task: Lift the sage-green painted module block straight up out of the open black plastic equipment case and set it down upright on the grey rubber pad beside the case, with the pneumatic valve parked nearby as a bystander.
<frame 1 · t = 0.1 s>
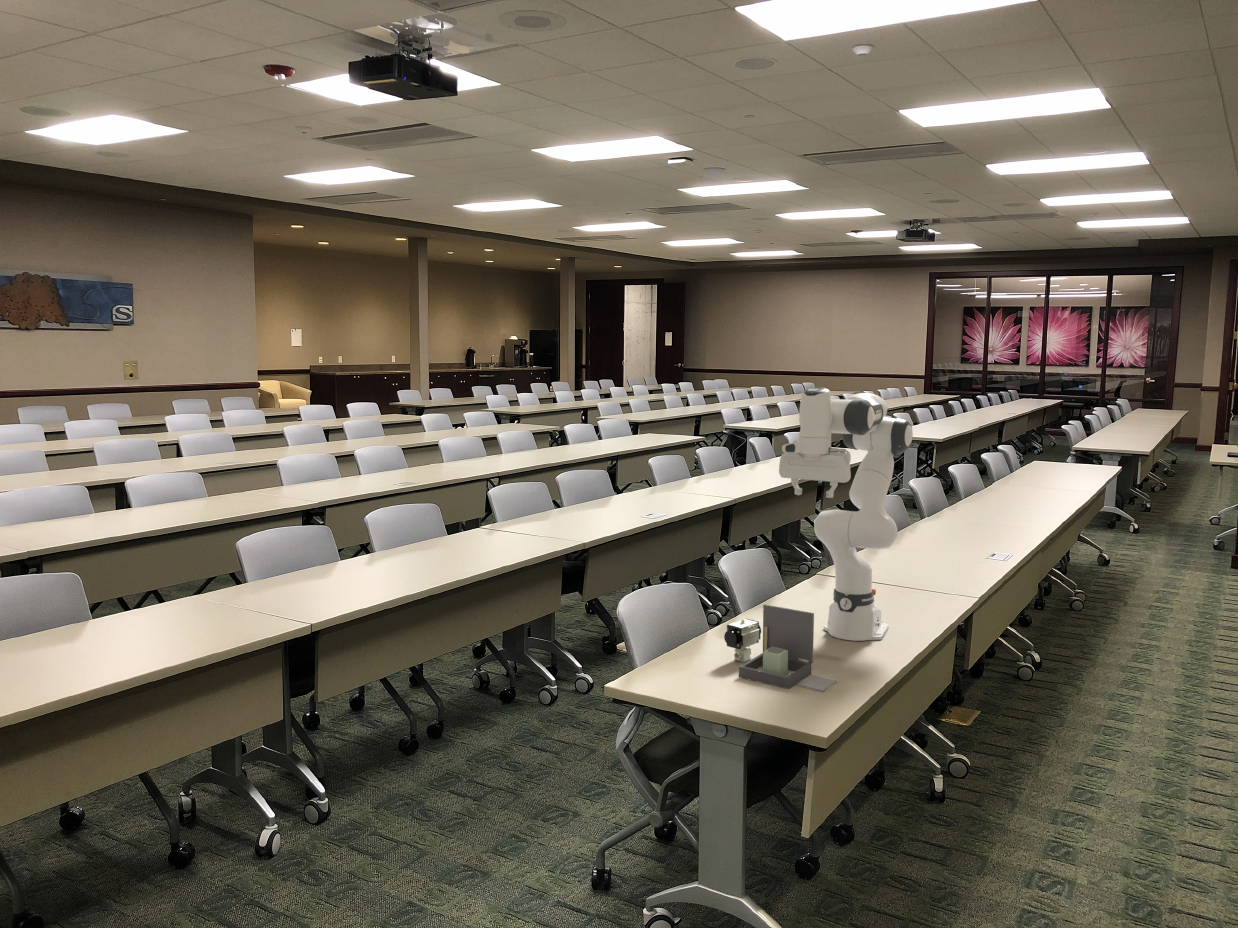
hand: (813, 496, 251), 48 cm above the table, fingers open, 8 cm apart
module: (775, 675, 245), resting in case
case: (775, 675, 245), on the table
pneumatic valve: (743, 660, 258), on the table
pad: (817, 683, 239), on the table
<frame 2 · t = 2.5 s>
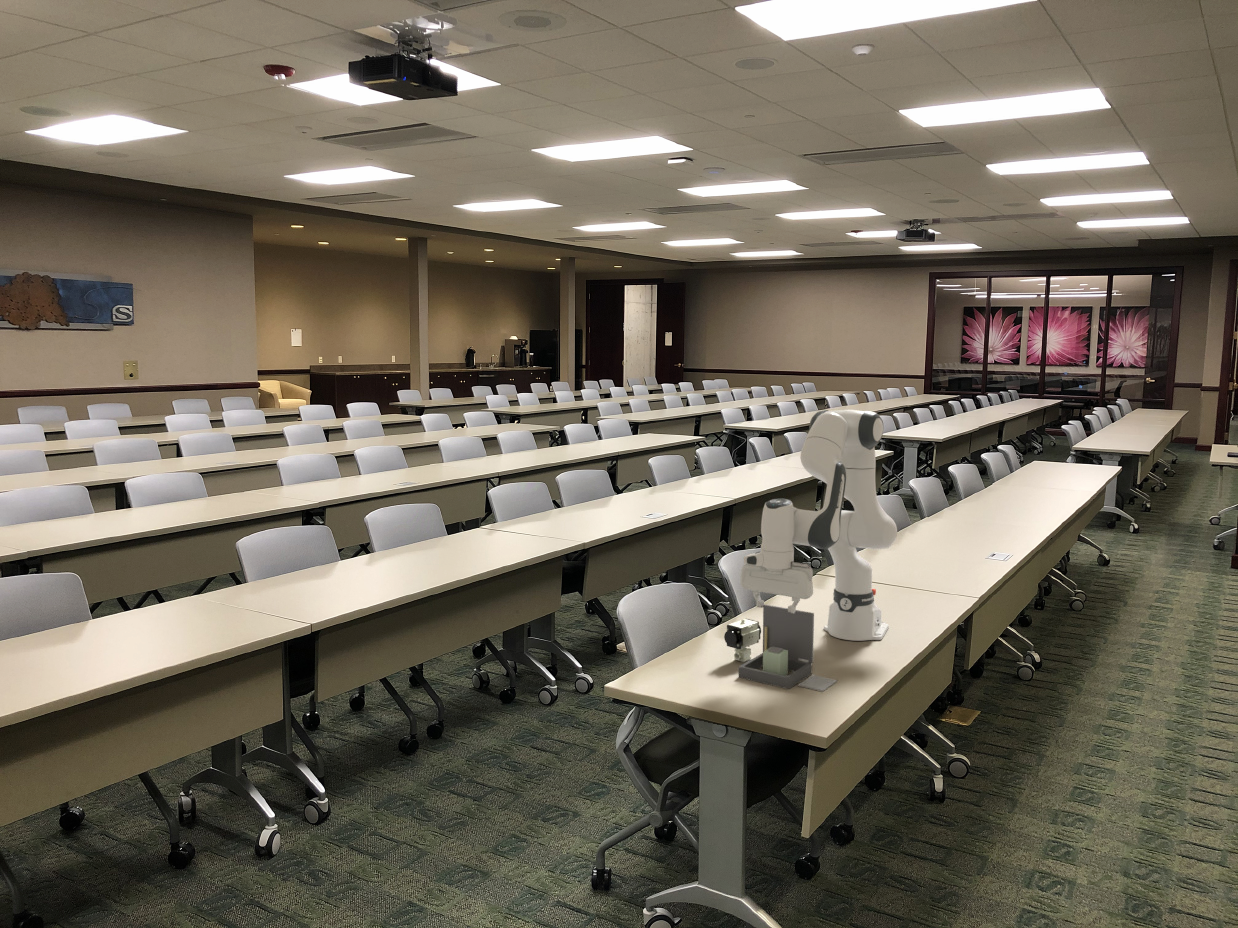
hand: (775, 609, 243), 19 cm above the table, fingers open, 8 cm apart
nothing on the table moved.
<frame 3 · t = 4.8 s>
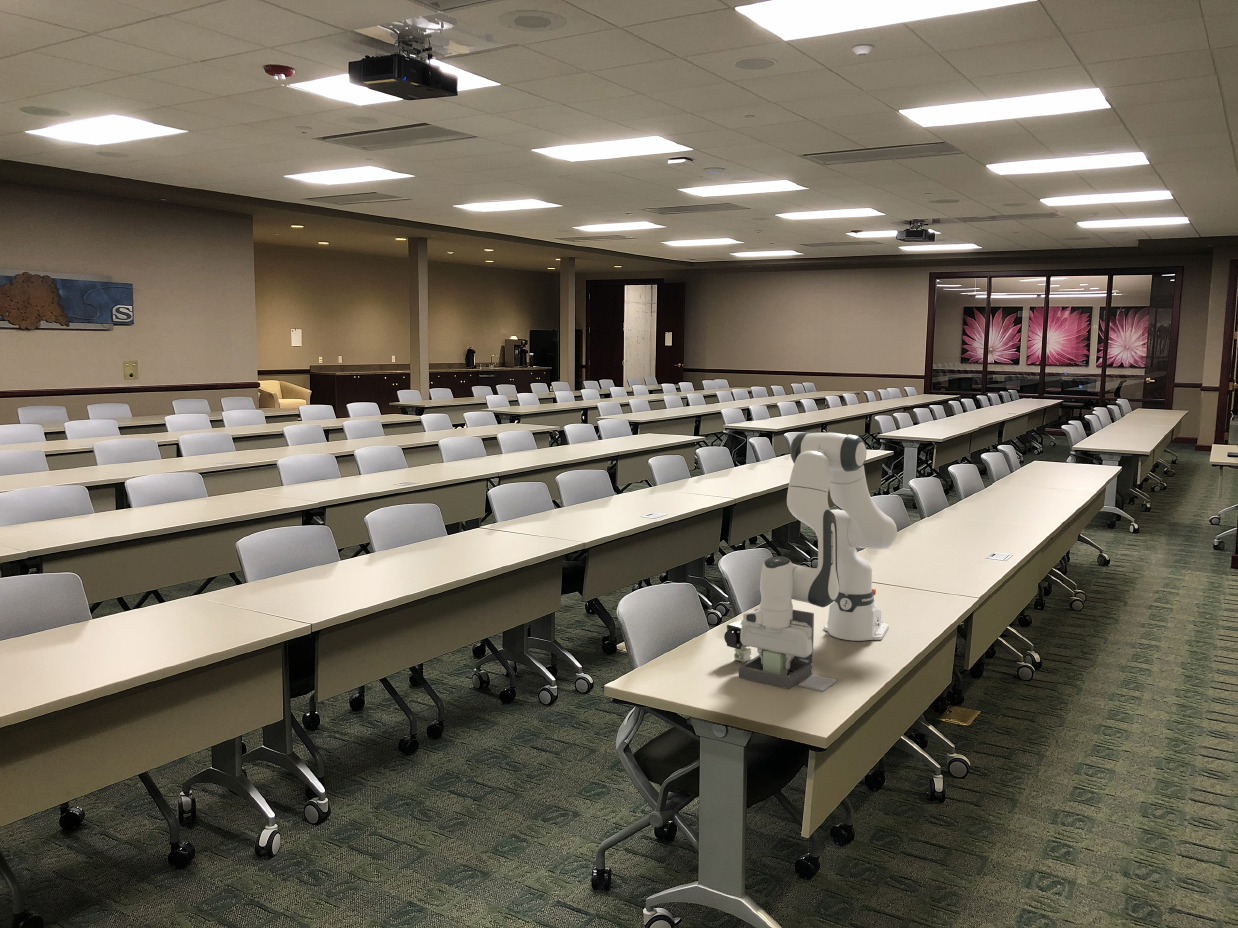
hand: (775, 666, 245), 3 cm above the table, fingers closed on module, 5 cm apart
module: (775, 675, 245), resting in case, touching gripper
everything else where it was.
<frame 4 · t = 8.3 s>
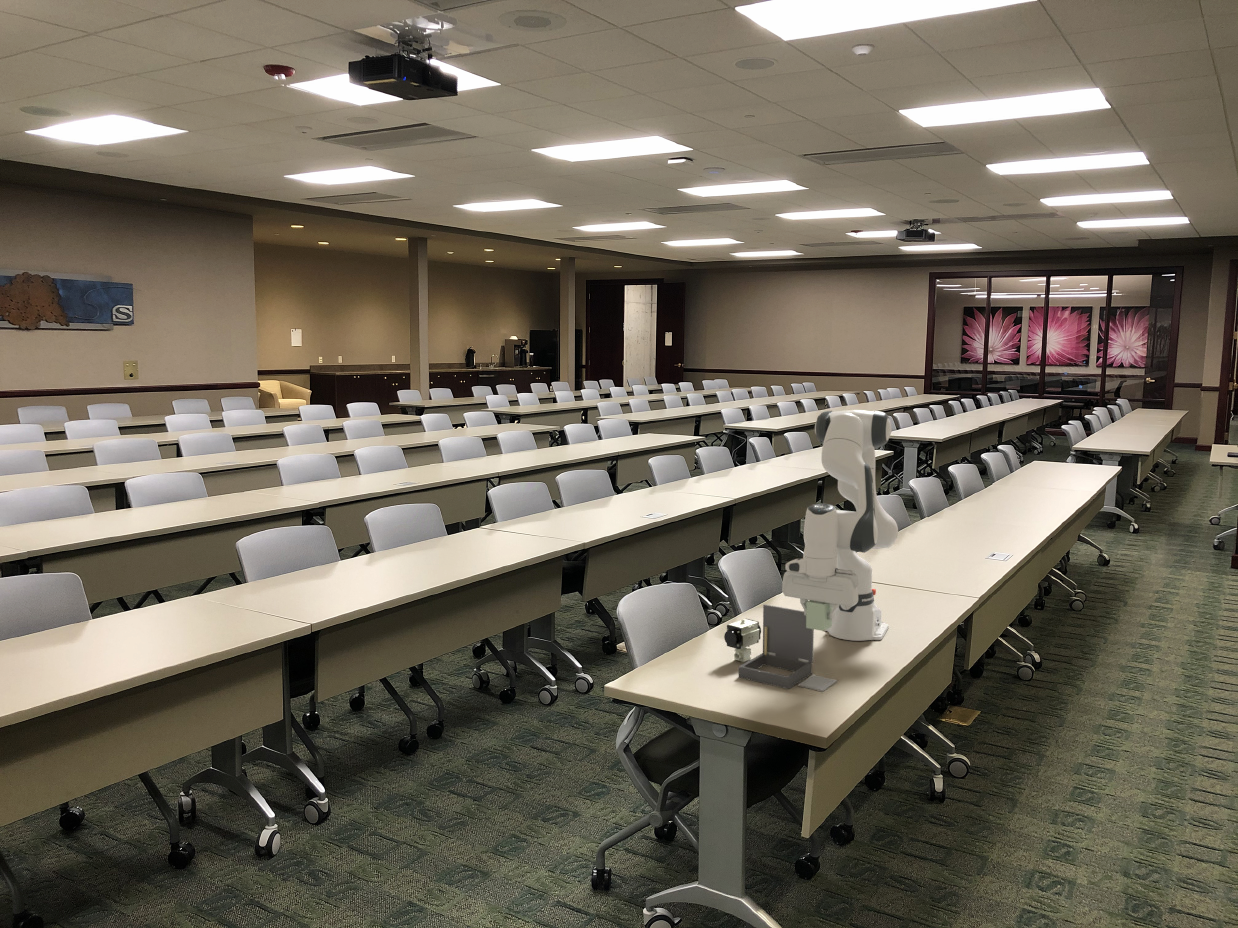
hand: (819, 617, 237), 18 cm above the table, fingers closed on module, 5 cm apart
module: (818, 626, 237), point 16 cm above the table, touching gripper
everything else where it was.
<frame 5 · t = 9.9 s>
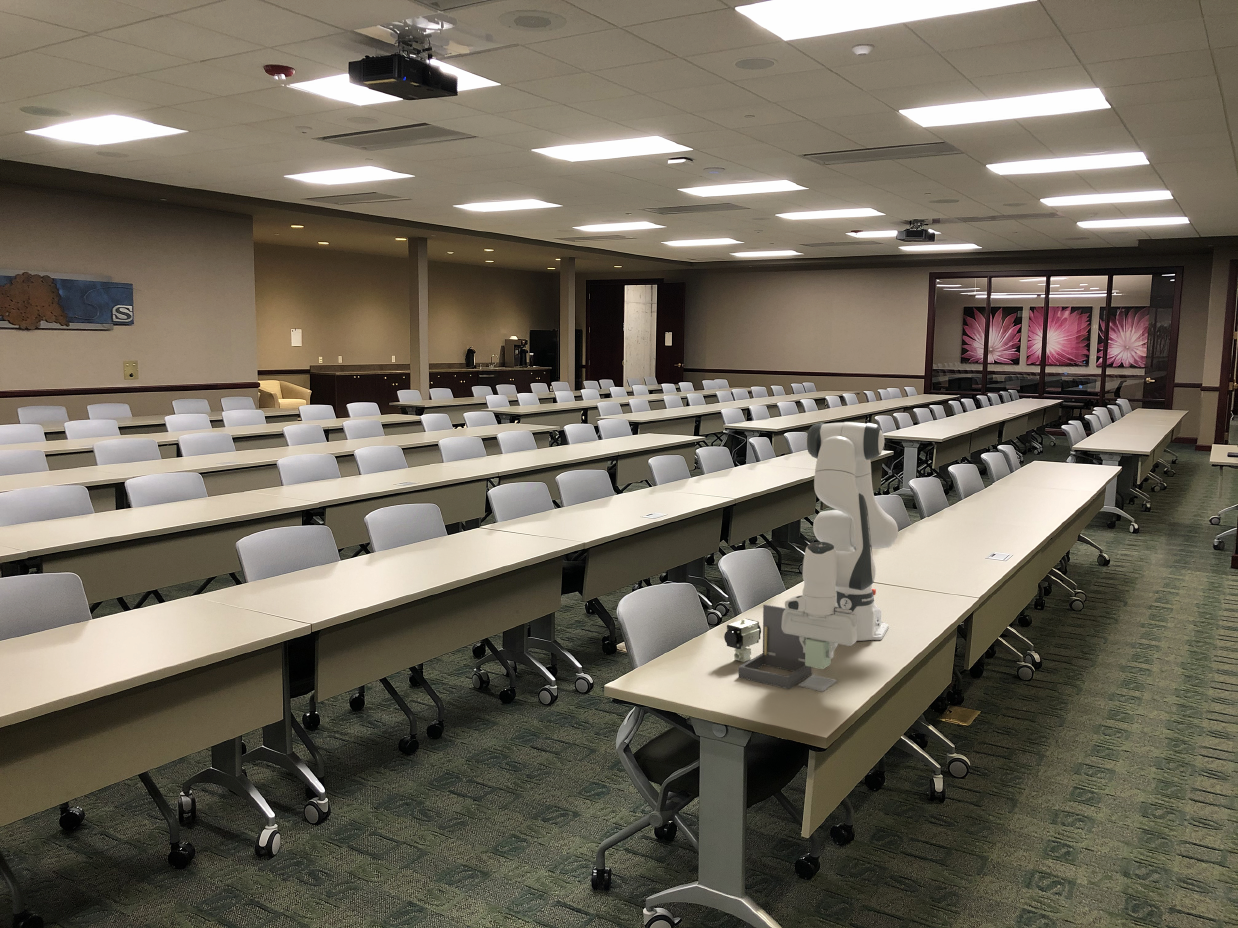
hand: (818, 655, 238), 8 cm above the table, fingers closed on module, 5 cm apart
module: (817, 664, 238), point 5 cm above the table, touching gripper
everything else where it was.
when the fingers open (4 cm above the table, at t = 11.6 s): module stays where it is, resting on pad.
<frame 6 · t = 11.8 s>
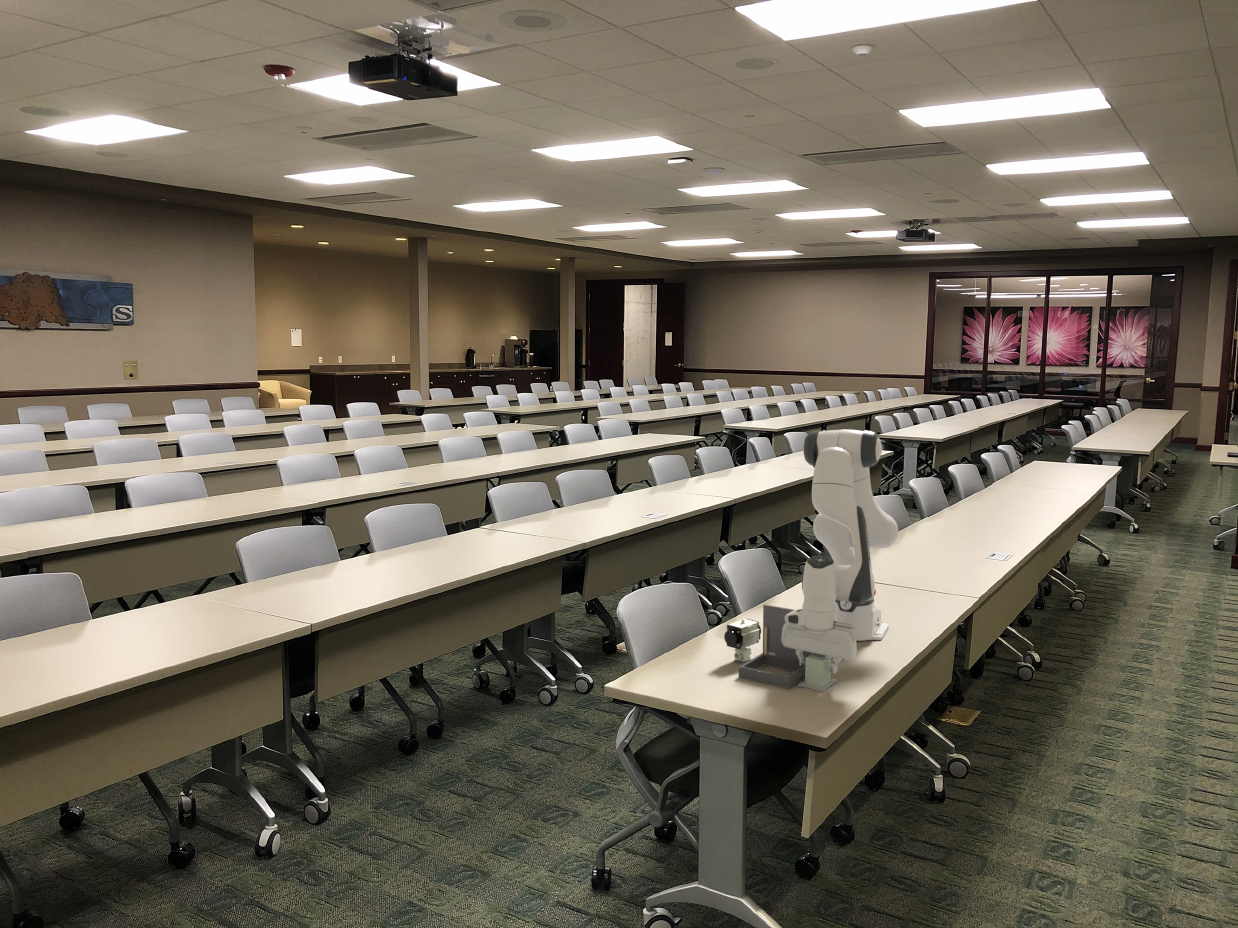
hand: (818, 668, 239), 4 cm above the table, fingers open, 7 cm apart
module: (817, 682, 239), resting on pad
everything else where it was.
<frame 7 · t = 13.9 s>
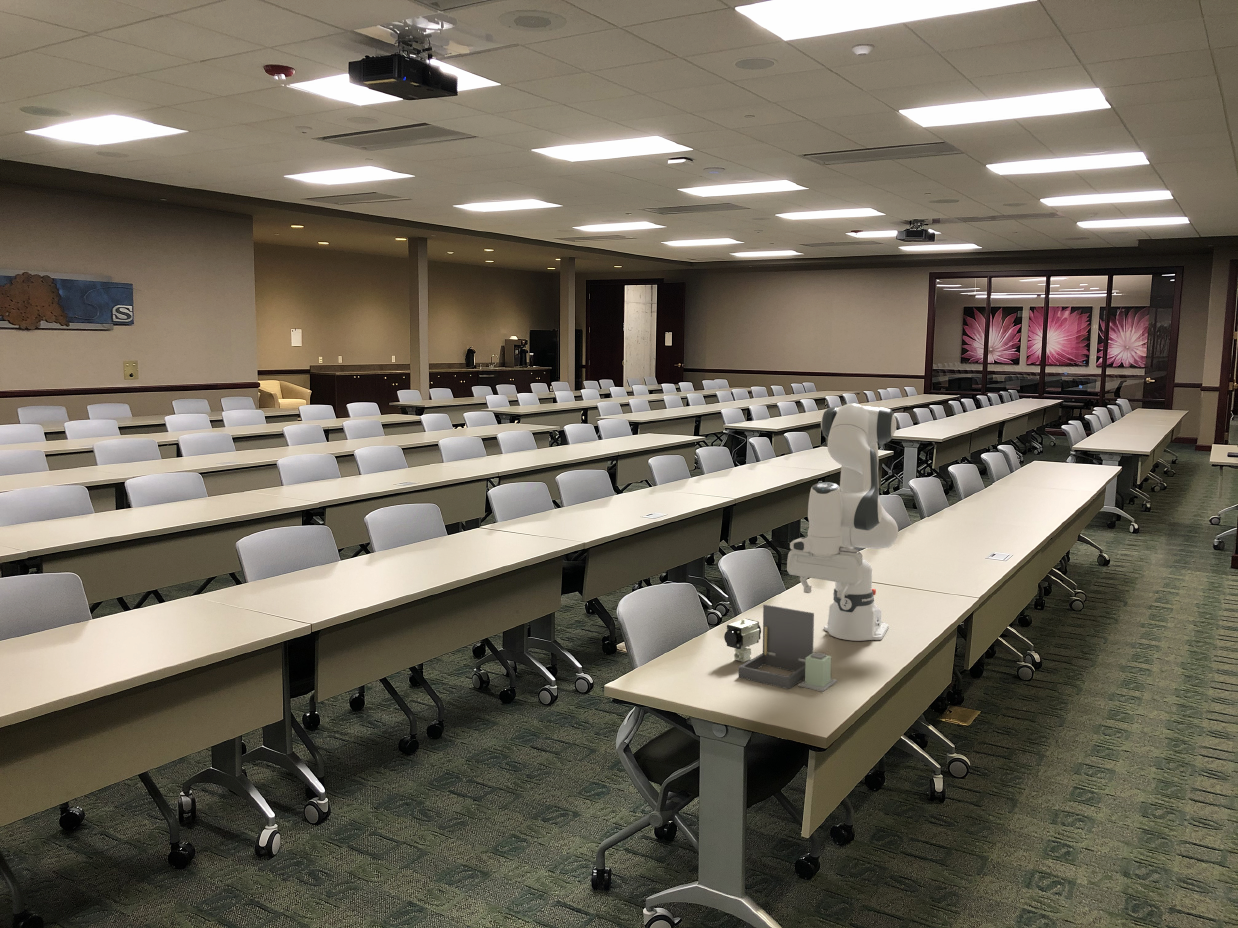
hand: (823, 595, 239), 23 cm above the table, fingers open, 8 cm apart
nothing on the table moved.
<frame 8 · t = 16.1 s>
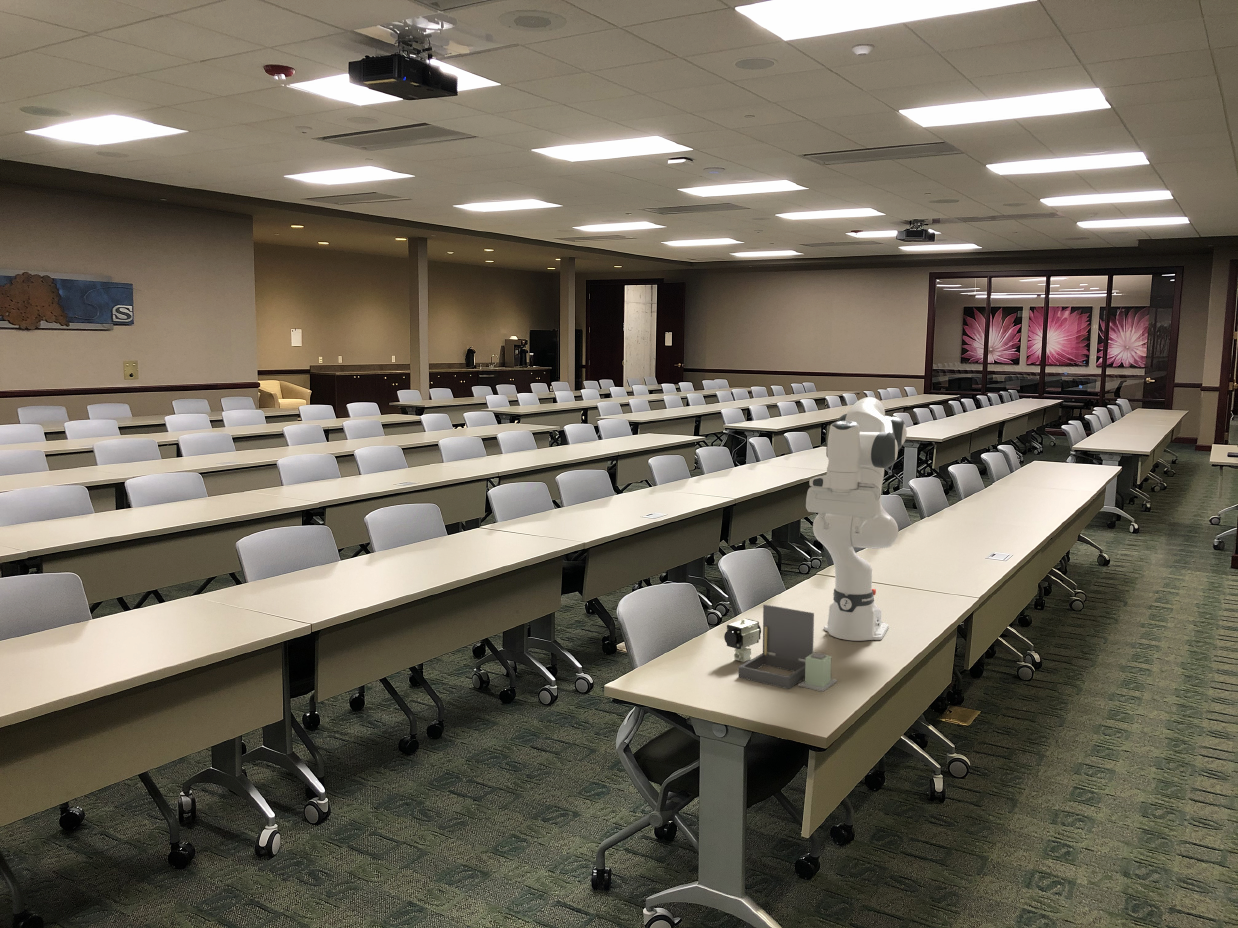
hand: (841, 531, 246), 39 cm above the table, fingers open, 8 cm apart
nothing on the table moved.
at the end: module inside the target area (0.1 cm from its centre), resting on pad; module tilted 0°; the gripper is holding nothing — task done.
